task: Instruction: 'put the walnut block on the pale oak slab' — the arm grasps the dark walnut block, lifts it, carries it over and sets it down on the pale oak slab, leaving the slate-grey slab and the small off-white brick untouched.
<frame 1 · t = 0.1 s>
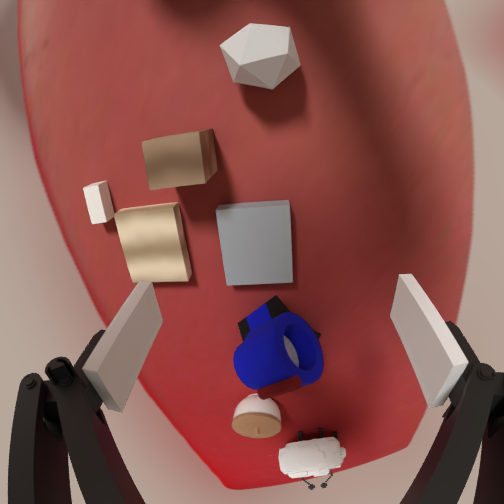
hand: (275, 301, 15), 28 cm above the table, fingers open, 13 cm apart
white brick: (104, 199, 43), on the table
die: (262, 60, 33), on the table
grey slab: (257, 239, 44), on the table
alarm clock: (276, 330, 52), on the table
lidded jar: (258, 400, 62), on the table
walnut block: (190, 152, 39), on the table
oak slab: (157, 240, 46), on the table
robot: (313, 436, 70), on the table
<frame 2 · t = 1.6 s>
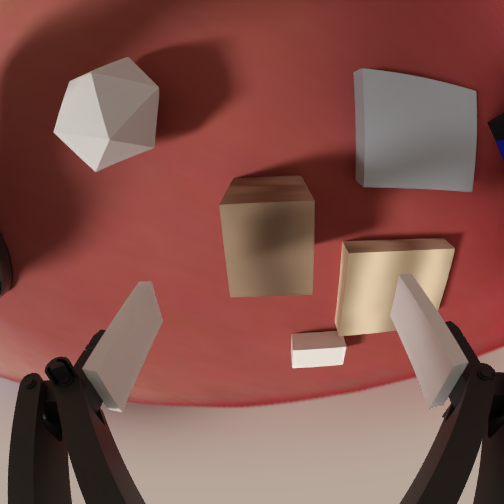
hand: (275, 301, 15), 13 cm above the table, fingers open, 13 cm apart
white brick: (315, 340, 34), on the table
die: (131, 111, 23), on the table
grey slab: (412, 130, 23), on the table
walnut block: (269, 213, 27), on the table
oak slab: (389, 279, 30), on the table
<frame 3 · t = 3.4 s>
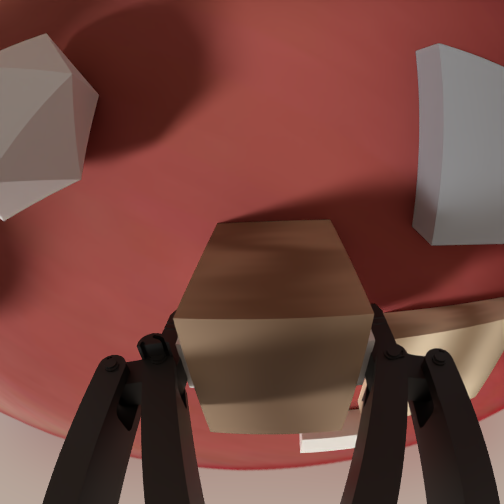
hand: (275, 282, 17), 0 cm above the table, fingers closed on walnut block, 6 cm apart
white brick: (331, 418, 24), on the table
die: (63, 117, 13), on the table
grey slab: (490, 150, 13), on the table
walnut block: (275, 278, 17), on the table, touching gripper
oak slab: (432, 350, 20), on the table
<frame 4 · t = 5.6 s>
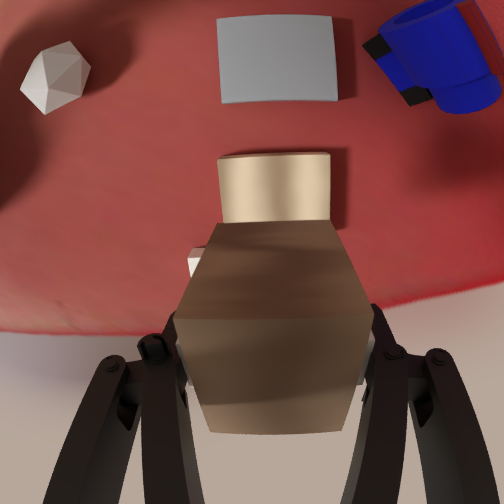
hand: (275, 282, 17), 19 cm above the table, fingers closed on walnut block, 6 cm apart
white brick: (216, 257, 38), on the table
die: (74, 77, 28), on the table
grey slab: (276, 60, 27), on the table
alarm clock: (421, 58, 25), on the table
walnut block: (275, 278, 17), point 19 cm above the table, touching gripper
oak slab: (275, 193, 35), on the table
when the fingers open (5 cm above the table, at t = 8.2 s): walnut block drops 2 cm, point 2 cm above the table.
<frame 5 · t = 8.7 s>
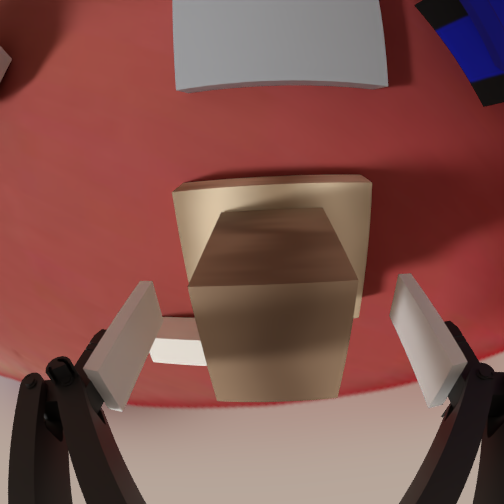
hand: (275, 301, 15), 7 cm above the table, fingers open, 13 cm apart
white brick: (189, 329, 25), on the table
grey slab: (277, 18, 14), on the table
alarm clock: (492, 37, 12), on the table
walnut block: (274, 262, 19), point 2 cm above the table
oak slab: (275, 242, 21), on the table
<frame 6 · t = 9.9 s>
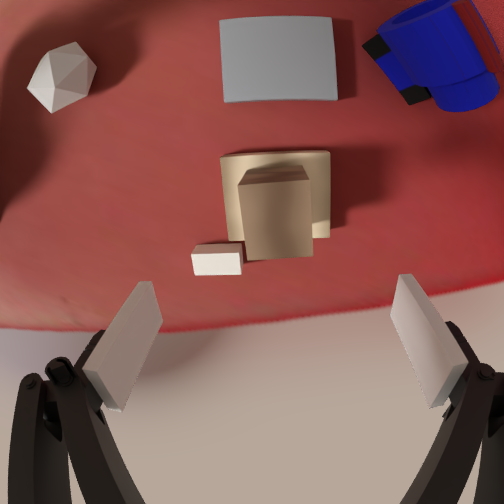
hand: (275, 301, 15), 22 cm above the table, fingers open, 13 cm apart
white brick: (220, 253, 39), on the table
die: (81, 77, 29), on the table
grey slab: (278, 60, 28), on the table
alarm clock: (420, 57, 25), on the table
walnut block: (277, 197, 32), point 2 cm above the table
oak slab: (277, 191, 35), on the table
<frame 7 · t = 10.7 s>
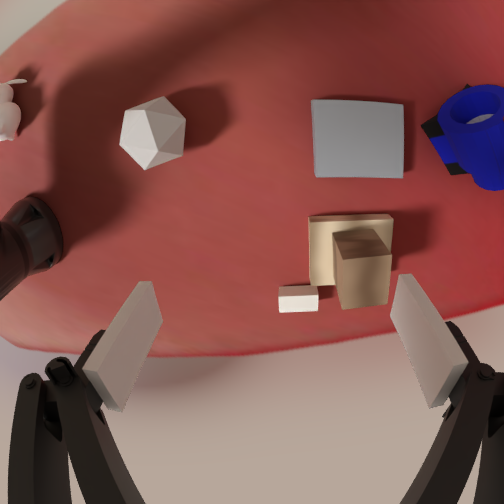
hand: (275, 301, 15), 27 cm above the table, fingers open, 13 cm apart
white brick: (297, 293, 47), on the table
die: (165, 130, 37), on the table
grey slab: (355, 137, 36), on the table
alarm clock: (462, 133, 33), on the table
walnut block: (353, 253, 40), point 2 cm above the table, touching oak slab
white rounded figure: (17, 106, 36), on the table
oak slab: (347, 245, 43), on the table, touching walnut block
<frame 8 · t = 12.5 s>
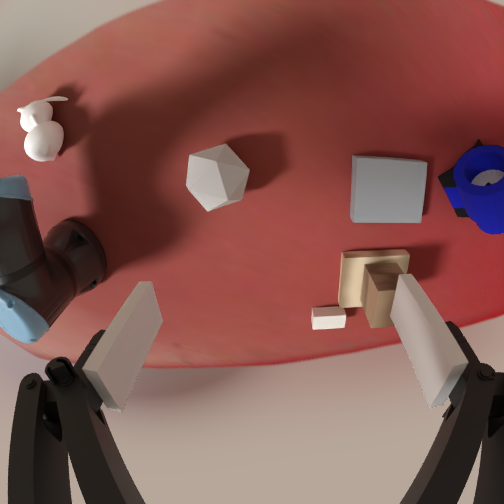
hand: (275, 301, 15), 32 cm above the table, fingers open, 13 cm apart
white brick: (327, 312, 54), on the table
die: (221, 172, 44), on the table
grey slab: (385, 187, 43), on the table
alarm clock: (470, 181, 40), on the table
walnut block: (378, 281, 47), point 2 cm above the table
white rounded figure: (57, 124, 41), on the table
oak slab: (370, 273, 50), on the table
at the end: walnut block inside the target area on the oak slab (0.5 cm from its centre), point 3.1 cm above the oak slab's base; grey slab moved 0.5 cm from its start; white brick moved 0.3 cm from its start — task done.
